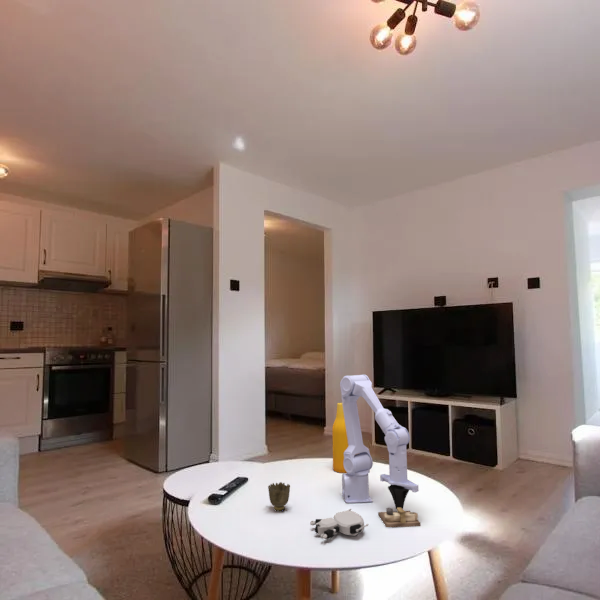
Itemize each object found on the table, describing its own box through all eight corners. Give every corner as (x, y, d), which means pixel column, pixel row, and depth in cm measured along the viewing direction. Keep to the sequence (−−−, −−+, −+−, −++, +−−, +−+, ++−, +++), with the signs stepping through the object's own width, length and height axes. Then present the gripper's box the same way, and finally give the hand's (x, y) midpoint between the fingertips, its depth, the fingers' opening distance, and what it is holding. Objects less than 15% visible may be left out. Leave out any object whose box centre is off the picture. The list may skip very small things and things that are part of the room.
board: (386, 527, 129) (386, 512, 129) (378, 515, 138) (377, 501, 139) (420, 526, 130) (419, 511, 130) (409, 513, 139) (409, 499, 140)
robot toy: (323, 549, 118) (371, 537, 122) (321, 532, 118) (370, 521, 123) (308, 531, 129) (353, 520, 134) (307, 516, 130) (352, 506, 134)
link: (386, 521, 130) (385, 516, 130) (383, 517, 134) (383, 512, 134) (419, 521, 131) (419, 515, 131) (416, 516, 134) (415, 511, 134)
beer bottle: (339, 466, 194) (338, 401, 197) (357, 469, 189) (356, 403, 192) (328, 471, 187) (327, 404, 190) (347, 474, 182) (346, 405, 185)
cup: (294, 509, 144) (294, 485, 145) (279, 516, 139) (279, 490, 139) (279, 504, 149) (279, 480, 150) (263, 510, 144) (263, 485, 144)
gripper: (373, 463, 143) (374, 505, 142) (407, 473, 131) (409, 519, 130) (387, 459, 147) (389, 500, 146) (422, 469, 136) (423, 513, 134)
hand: (399, 509), depth 138 cm, fingers closed
